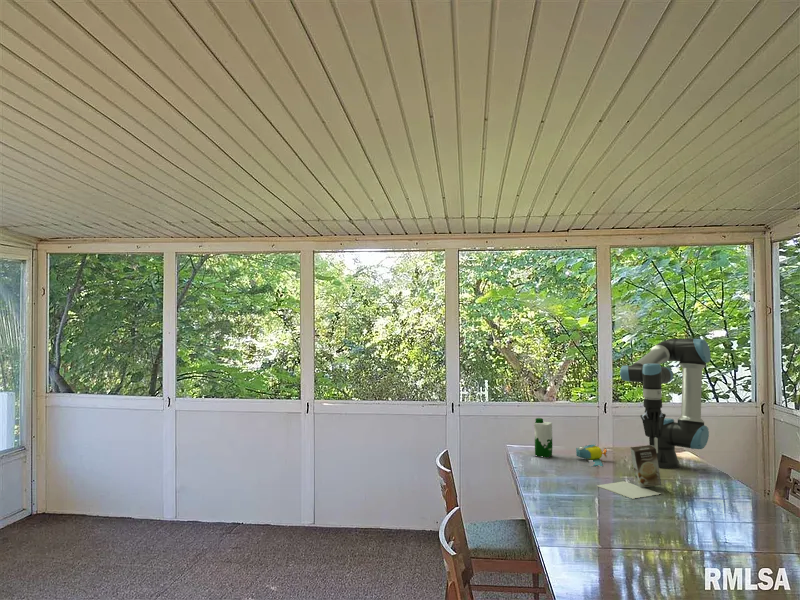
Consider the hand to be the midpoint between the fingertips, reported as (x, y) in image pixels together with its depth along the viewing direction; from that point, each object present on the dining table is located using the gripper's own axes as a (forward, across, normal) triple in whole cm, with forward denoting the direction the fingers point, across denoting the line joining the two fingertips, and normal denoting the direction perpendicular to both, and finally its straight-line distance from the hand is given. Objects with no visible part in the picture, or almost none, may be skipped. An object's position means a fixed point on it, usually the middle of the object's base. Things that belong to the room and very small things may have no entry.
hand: (654, 452), depth 237 cm
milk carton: (+15, -8, +66) cm, 68 cm away
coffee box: (+14, -4, 0) cm, 14 cm away
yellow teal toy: (+15, +9, +49) cm, 52 cm away
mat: (+15, -16, 0) cm, 21 cm away
